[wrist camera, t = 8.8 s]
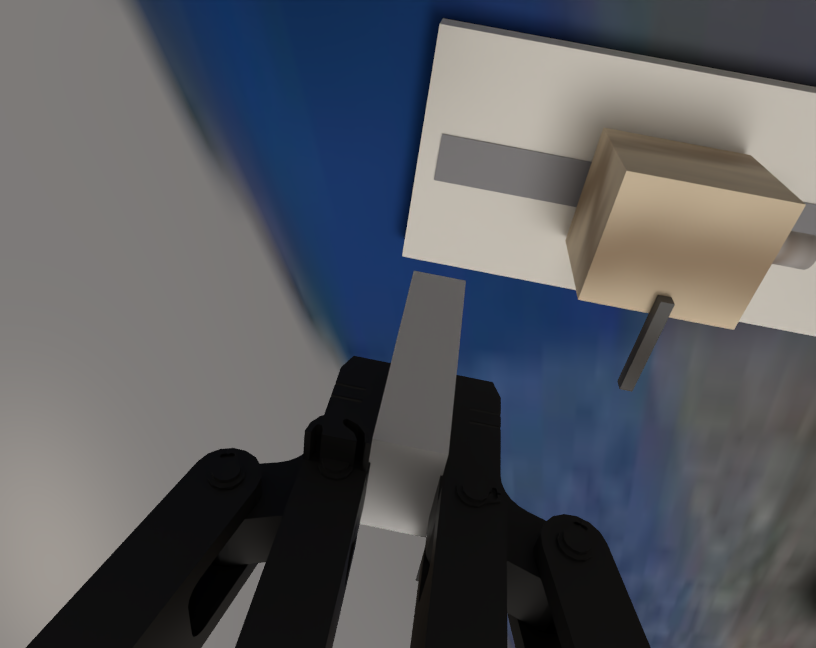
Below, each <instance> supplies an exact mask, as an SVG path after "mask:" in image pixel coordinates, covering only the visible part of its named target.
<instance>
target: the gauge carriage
mask: <svg viewBox="0 0 816 648" xmlns="http://www.w3.org/2000/svg"><path fill="white" fill-rule="evenodd" d="M805 206H806V204H805V203H804V202H803V201H802V200H800V199H799V198H798V197H797V196H796V195H795V194H794V193H793V192H791V191H790V190H789V189H788V188H787V187H786V186H785V185H784V184H783V183H781V182H780V181H779V180H778V179H777V178H776V177H775V176H774V175H772V174H771V173H770V172H769V171H768V170H767V169H766V168H765V167H764V166H762V165H761V164H760V163H759V162H758V161H757V160H756V159H755V158H753V157H752V156H751V155H748V154H742V153H737V152H732V151H726V150H721V149H716V148H710V147H705V146H700V145H694V144H689V143H684V142H678V141H673V140H668V139H662V138H657V137H652V136H646V135H641V134H636V133H630V132H625V131H620V130H614V129H609V128H604V127H603V130H602V133H601V136H600V139H599V142H598V145H597V148H596V151H595V154H594V157H593V160H592V163H591V166H590V169H589V172H588V175H587V178H586V181H585V184H584V187H583V190H582V193H581V196H580V199H579V202H578V205H577V207H576V210H575V213H574V216H573V219H572V222H571V225H570V228H569V231H568V234H567V237H566V240H565V241H566V246H567V251H568V255H569V260H570V264H571V269H572V274H573V278H574V283H575V288H576V292H577V297H578V300H583V301H588V302H593V303H598V304H604V305H609V306H614V307H619V308H624V309H629V310H635V311H640V312H645V313H649V315H648V317H647V319H646V321H645V323H644V325H643V327H642V330H641V332H640V334H639V336H638V338H637V340H636V342H635V345H634V347H633V349H632V351H631V353H630V355H629V357H628V360H627V362H626V364H625V366H624V368H623V370H622V372H621V375H620V377H619V379H618V385H619V389H622V390H627V391H633V389H634V387H635V385H636V383H637V381H638V379H639V376H640V374H641V372H642V370H643V368H644V366H645V364H646V362H647V360H648V358H649V356H650V354H651V352H652V350H653V348H654V346H655V344H656V342H657V340H658V338H659V336H660V334H661V332H662V330H663V328H664V326H665V324H666V322H667V320H668V318H669V317H671V318H676V319H681V320H686V321H691V322H696V323H701V324H707V325H712V326H717V327H722V328H727V329H732V330H734V329H735V327H736V325H737V323H738V322H739V320H740V318H741V317H742V315H743V313H744V311H745V310H746V308H747V306H748V304H749V303H750V301H751V299H752V298H753V296H754V294H755V292H756V291H757V289H758V287H759V285H760V284H761V282H762V280H763V279H764V277H765V275H766V273H767V272H768V270H769V268H770V266H771V265H772V264H775V265H781V266H786V267H791V268H796V269H801V270H805V269H808V268H810V267H811V266H812V265H813V264H814V263H815V261H816V235H811V234H806V233H800V232H795V231H791V230H792V228H793V227H794V225H795V223H796V221H797V220H798V218H799V216H800V215H801V213H802V211H803V209H804V208H805Z"/></svg>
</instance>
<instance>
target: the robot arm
mask: <svg viewBox="0 0 816 648" xmlns="http://www.w3.org/2000/svg"><path fill="white" fill-rule="evenodd" d="M465 283H466V281H464V280H459V279H453V278H448V277H443V276H438V275H433V274H428V273H423V272H418V271H414V273H413V277H412V281H411V285H410V289H409V293H408V297H407V301H406V305H405V309H404V313H403V317H402V321H401V325H400V329H399V333H398V337H397V341H396V345H395V349H394V353H393V357H392V362H391V363H387V362H382V361H377V360H372V359H367V358H362V357H357V356H353V357H352V358H351V359H350V360H349V361H348V362H347V363H345V364H344V365H343V366H342V367H341V369H340V372H339V375H338V378H337V380H336V384H335V386H334V389H333V392H332V395H331V397H330V400H329V403H328V406H327V409H326V412H325V414H324V415H323V416H320V417H318V418H317V419H315V420H314V421H312V422H311V423H310V424H309V426H308V427H307V428H306V430H305V437H304V454H302V455H301V456H299V457H297V458H295V459H292V460H289V461H285V462H278V463H264V464H259V462H258V461H257V459H256V457H254V456H253V455H251V454H250V453H248V452H247V451H244V450H240V449H235V448H229V449H220V450H217V451H214V452H211V453H208V454H207V455H206V456H204V457H203V458H202V459H200V460H199V461H198V462H197V463H196V464H195V465H194V466H193V467H192V468H191V469H190V471H188V473H187V474H186V475H185V476H184V477H183V478H182V479H181V480H180V481H179V482H178V484H176V486H175V487H174V488H173V489H172V490H171V491H170V492H169V493H168V494H167V495H166V497H165V498H164V499H163V500H162V501H161V502H160V503H159V504H158V505H157V506H156V507H155V508H154V509H153V510H152V512H151V513H150V514H149V515H148V516H147V517H146V518H145V519H144V520H143V521H142V522H141V523H140V525H139V526H138V527H137V528H136V529H135V530H134V531H133V532H132V533H131V534H130V535H129V536H128V538H127V539H126V540H125V541H124V542H123V543H122V544H121V545H120V546H119V547H118V548H117V549H116V550H115V552H114V553H113V554H112V555H111V556H110V557H109V558H108V559H107V560H106V561H105V562H104V564H103V565H102V566H101V567H100V568H99V569H98V570H97V571H96V572H95V573H94V574H93V576H92V577H91V578H90V579H89V580H88V581H87V582H86V583H85V584H84V585H83V586H82V587H81V588H80V590H79V591H78V592H77V593H76V594H75V595H74V596H73V597H72V598H71V599H70V600H69V602H67V604H66V605H65V606H64V607H63V608H62V609H61V610H60V611H59V612H58V614H56V615H55V616H54V618H53V619H52V620H51V621H50V622H49V623H48V624H47V625H46V626H45V627H44V628H43V629H42V631H41V632H40V633H39V634H38V635H37V636H36V637H35V638H34V639H33V640H32V641H31V643H30V644H29V645H28V646H27V647H26V648H201V647H202V646H203V644H204V643H205V641H206V640H207V638H208V637H209V635H210V634H211V632H212V631H213V629H214V628H215V627H216V625H217V624H218V622H219V621H220V619H221V618H222V616H223V615H224V613H225V612H226V610H227V609H228V607H229V606H230V604H231V603H232V601H233V600H234V598H235V597H236V595H237V594H238V592H239V591H240V589H241V588H242V586H243V585H244V584H245V582H246V581H247V579H248V578H249V576H250V575H251V573H252V572H253V570H254V569H255V567H256V565H257V564H258V563H261V562H266V564H265V566H264V569H263V572H262V575H261V577H260V580H259V583H258V586H257V588H256V591H255V594H254V597H253V599H252V602H251V605H250V608H249V611H248V613H247V616H246V619H245V622H244V624H243V627H242V630H241V633H240V636H239V638H238V641H237V644H236V647H235V648H332V646H333V642H334V638H335V633H336V628H337V625H338V620H339V615H340V611H341V607H342V603H343V598H344V594H345V590H346V585H347V580H348V576H349V572H350V567H351V563H352V559H353V554H354V550H355V545H356V539H357V533H358V529H359V524H363V525H368V526H373V527H377V528H383V529H388V530H392V531H397V532H402V533H407V534H412V535H416V536H421V537H426V534H427V537H426V545H425V550H424V553H423V556H422V560H421V564H420V567H419V571H418V575H417V578H416V581H419V583H418V590H417V598H416V606H415V615H414V622H413V630H412V638H411V645H410V648H507V613H508V618H509V623H510V627H511V631H512V635H513V639H514V643H515V648H650V645H649V643H648V640H647V638H646V636H645V633H644V631H643V628H642V626H641V624H640V621H639V619H638V616H637V614H636V612H635V609H634V607H633V604H632V602H631V600H630V597H629V595H628V592H627V590H626V588H625V585H624V583H623V580H622V578H621V576H620V573H619V571H618V568H617V566H616V564H615V561H614V559H613V556H612V554H611V552H610V549H609V547H608V544H607V543H606V541H605V539H604V538H603V536H602V535H601V533H600V532H599V531H598V530H597V529H596V528H595V527H594V526H593V525H591V524H590V523H589V522H587V521H585V520H583V519H581V518H579V517H577V516H572V515H566V514H562V515H557V516H553V517H551V518H550V519H549V520H548V521H545V520H543V519H541V518H539V517H537V516H535V515H533V514H531V513H529V512H527V511H526V510H524V509H522V508H521V507H519V506H518V505H517V504H516V503H515V502H514V501H512V500H511V499H510V497H509V496H508V495H507V493H506V492H505V490H504V488H503V485H502V483H501V476H500V453H501V430H500V427H501V417H500V414H501V398H500V396H499V394H498V392H497V390H496V388H495V386H494V384H493V382H489V381H484V380H479V379H474V378H469V377H464V376H459V375H456V374H457V363H458V353H459V343H460V333H461V323H462V313H463V303H464V293H465Z"/></svg>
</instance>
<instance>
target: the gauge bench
mask: <svg viewBox="0 0 816 648" xmlns="http://www.w3.org/2000/svg"><path fill="white" fill-rule="evenodd" d="M603 127H604V128H609V129H614V130H620V131H625V132H630V133H636V134H641V135H646V136H652V137H657V138H662V139H668V140H673V141H678V142H684V143H689V144H694V145H700V146H705V147H710V148H716V149H721V150H726V151H732V152H737V153H742V154H748V155H751V156H752V157H753V158H755V159H756V160H757V161H758V162H759V163H760V164H761V165H762V166H764V167H765V168H766V169H767V170H768V171H769V172H770V173H771V174H772V175H774V176H775V177H776V178H777V179H778V180H779V181H780V182H781V183H783V184H784V185H785V186H786V187H787V188H788V189H789V190H790V191H791V192H793V193H794V194H795V195H796V196H797V197H798V198H799V199H800V200H802V201H803V202H804V203H805V204H806V206H805V208H804V209H803V211H802V213H801V215H800V216H799V218H798V220H797V221H796V223H795V225H794V227H793V228H792V230H791V231H795V232H800V233H806V234H811V235H816V87H813V86H807V85H802V84H796V83H791V82H786V81H780V80H775V79H769V78H764V77H758V76H753V75H748V74H742V73H737V72H731V71H726V70H721V69H715V68H710V67H704V66H699V65H694V64H688V63H683V62H677V61H672V60H667V59H661V58H656V57H650V56H645V55H639V54H634V53H629V52H623V51H618V50H612V49H607V48H602V47H596V46H591V45H585V44H580V43H575V42H569V41H564V40H558V39H553V38H548V37H542V36H537V35H531V34H526V33H520V32H515V31H510V30H504V29H499V28H493V27H488V26H483V25H477V24H472V23H466V22H461V21H456V20H450V19H445V18H443V19H442V21H441V22H440V25H439V31H438V37H437V43H436V49H435V56H434V62H433V68H432V74H431V80H430V87H429V93H428V99H427V105H426V112H425V118H424V124H423V130H422V136H421V143H420V149H419V155H418V161H417V167H416V174H415V180H414V186H413V192H412V198H411V205H410V211H409V217H408V223H407V229H406V236H405V242H404V248H403V254H402V256H403V257H408V258H414V259H419V260H424V261H429V262H434V263H439V264H445V265H450V266H455V267H460V268H465V269H470V270H476V271H481V272H486V273H491V274H496V275H501V276H506V277H512V278H517V279H522V280H527V281H532V282H537V283H543V284H548V285H553V286H558V287H563V288H568V289H574V290H576V288H575V283H574V278H573V274H572V269H571V264H570V260H569V255H568V251H567V246H566V241H565V240H566V237H567V234H568V231H569V228H570V225H571V222H572V219H573V216H574V213H575V210H576V207H577V205H578V202H579V199H580V196H581V193H582V190H583V187H584V184H585V181H586V178H587V175H588V172H589V169H590V166H591V163H592V160H593V157H594V154H595V151H596V148H597V145H598V142H599V139H600V136H601V133H602V130H603ZM739 322H744V323H749V324H754V325H759V326H764V327H770V328H775V329H780V330H785V331H790V332H795V333H801V334H806V335H811V336H816V261H815V263H814V264H813V265H812V266H811V267H810V268H808V269H805V270H801V269H796V268H791V267H786V266H781V265H775V264H772V265H771V266H770V268H769V270H768V272H767V273H766V275H765V277H764V279H763V280H762V282H761V284H760V285H759V287H758V289H757V291H756V292H755V294H754V296H753V298H752V299H751V301H750V303H749V304H748V306H747V308H746V310H745V311H744V313H743V315H742V317H741V318H740V320H739Z"/></svg>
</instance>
